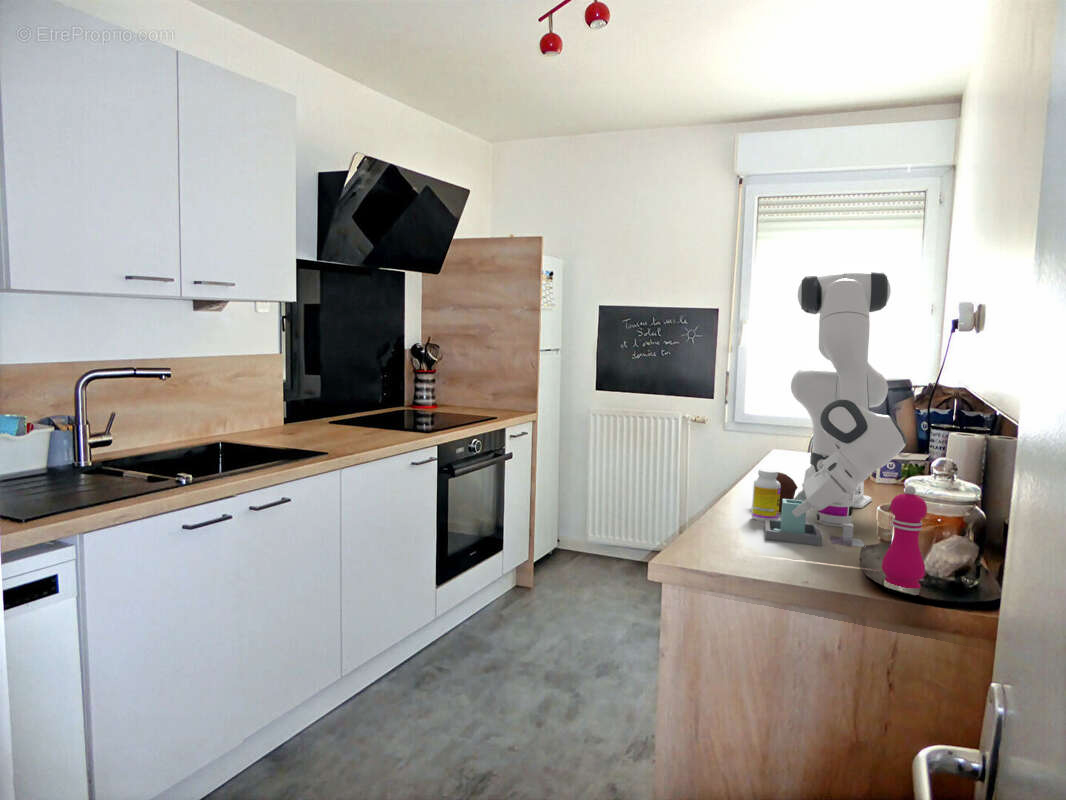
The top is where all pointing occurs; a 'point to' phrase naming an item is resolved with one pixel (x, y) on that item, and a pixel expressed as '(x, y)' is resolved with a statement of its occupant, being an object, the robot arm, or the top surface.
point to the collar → (791, 517)
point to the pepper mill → (905, 541)
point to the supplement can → (837, 511)
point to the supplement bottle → (766, 496)
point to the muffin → (786, 488)
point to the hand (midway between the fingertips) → (792, 509)
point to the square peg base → (847, 537)
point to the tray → (793, 534)
